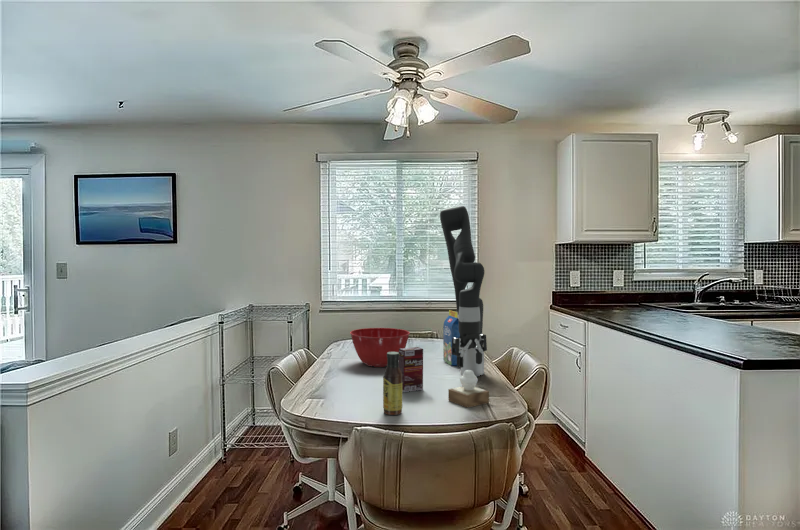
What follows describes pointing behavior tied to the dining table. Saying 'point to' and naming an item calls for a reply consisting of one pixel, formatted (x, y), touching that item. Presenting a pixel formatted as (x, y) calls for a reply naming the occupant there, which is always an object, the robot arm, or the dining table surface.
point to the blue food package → (450, 337)
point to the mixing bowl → (378, 344)
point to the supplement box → (411, 368)
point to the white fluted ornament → (468, 380)
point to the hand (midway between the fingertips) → (469, 365)
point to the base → (468, 396)
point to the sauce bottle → (392, 385)
